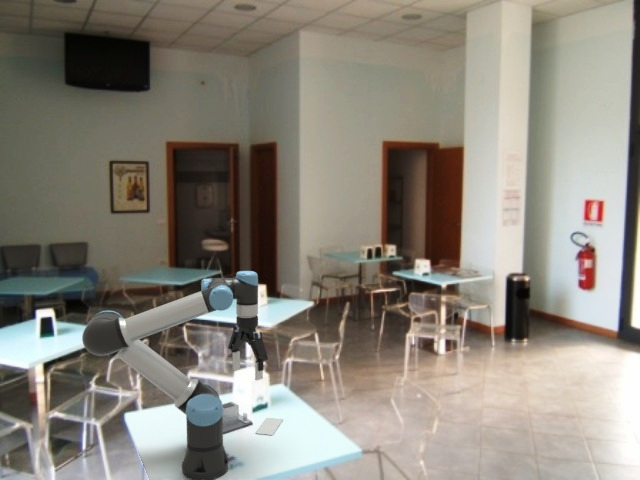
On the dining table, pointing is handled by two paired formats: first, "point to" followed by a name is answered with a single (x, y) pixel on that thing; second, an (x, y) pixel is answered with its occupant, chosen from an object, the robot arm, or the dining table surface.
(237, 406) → the block
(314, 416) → the dining table surface
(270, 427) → the smartphone
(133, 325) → the robot arm
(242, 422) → the grey knobbed plate
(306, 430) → the dining table surface
